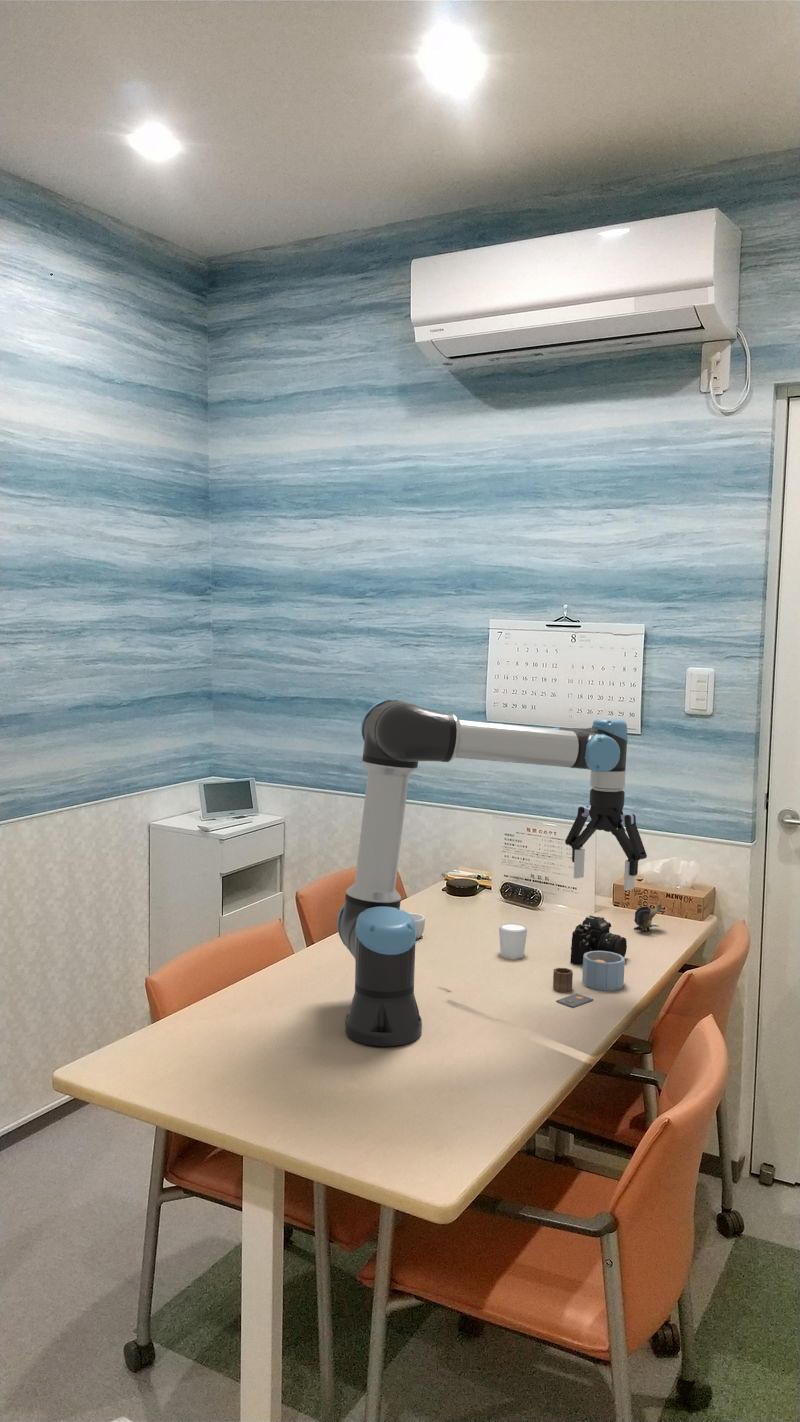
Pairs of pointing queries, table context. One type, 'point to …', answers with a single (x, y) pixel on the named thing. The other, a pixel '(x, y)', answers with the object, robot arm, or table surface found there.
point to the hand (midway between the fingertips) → (603, 883)
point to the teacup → (418, 923)
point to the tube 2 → (603, 970)
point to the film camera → (595, 939)
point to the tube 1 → (562, 979)
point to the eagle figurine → (646, 917)
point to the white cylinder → (512, 940)
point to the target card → (574, 1000)
